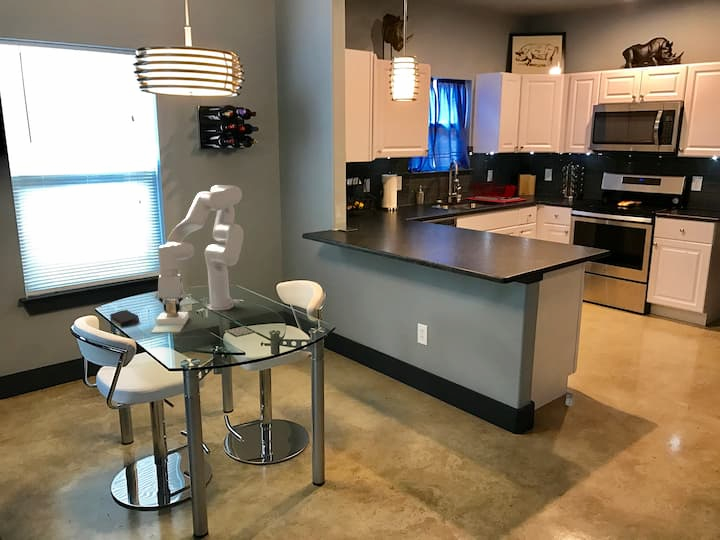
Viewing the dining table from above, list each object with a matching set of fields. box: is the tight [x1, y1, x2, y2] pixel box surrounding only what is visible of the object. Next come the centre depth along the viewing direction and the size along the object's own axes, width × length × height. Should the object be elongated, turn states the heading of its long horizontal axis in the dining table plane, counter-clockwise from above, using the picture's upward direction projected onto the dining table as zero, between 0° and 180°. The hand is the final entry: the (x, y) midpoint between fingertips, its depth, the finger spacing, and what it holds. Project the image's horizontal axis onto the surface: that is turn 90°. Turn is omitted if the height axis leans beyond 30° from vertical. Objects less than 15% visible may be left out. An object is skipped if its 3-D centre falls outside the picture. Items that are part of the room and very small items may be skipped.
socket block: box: [155, 311, 190, 326], centre depth 260 cm, size 12×10×4 cm
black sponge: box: [109, 309, 140, 328], centre depth 261 cm, size 16×8×4 cm, turn 43°
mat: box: [150, 324, 185, 334], centre depth 250 cm, size 12×9×1 cm
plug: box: [166, 298, 178, 317], centre depth 259 cm, size 4×4×10 cm
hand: (172, 311), depth 259 cm, fingers closed on plug, 4 cm apart
